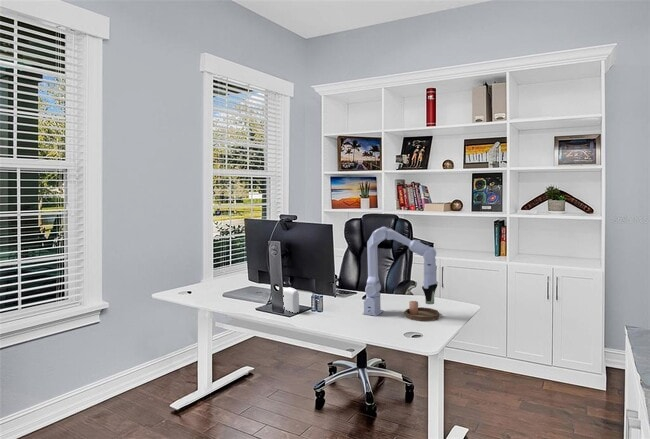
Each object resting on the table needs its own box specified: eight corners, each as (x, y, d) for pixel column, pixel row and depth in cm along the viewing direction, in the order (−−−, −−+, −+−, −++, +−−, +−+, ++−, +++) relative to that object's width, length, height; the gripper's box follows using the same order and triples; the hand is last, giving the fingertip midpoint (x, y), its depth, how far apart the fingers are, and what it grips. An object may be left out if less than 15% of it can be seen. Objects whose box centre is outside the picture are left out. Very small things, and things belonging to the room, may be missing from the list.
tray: (434, 322, 216) (434, 318, 216) (400, 318, 224) (400, 314, 224) (442, 313, 230) (442, 309, 230) (410, 309, 238) (410, 306, 238)
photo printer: (282, 309, 243) (281, 286, 242) (289, 308, 246) (288, 285, 245) (293, 314, 235) (293, 290, 234) (300, 312, 238) (299, 288, 237)
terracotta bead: (416, 315, 226) (416, 303, 226) (408, 314, 228) (408, 302, 228) (419, 313, 230) (419, 301, 229) (411, 312, 232) (411, 300, 231)
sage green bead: (432, 304, 222) (432, 292, 221) (424, 303, 224) (424, 291, 223) (435, 302, 225) (435, 290, 225) (427, 301, 227) (426, 289, 227)
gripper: (434, 276, 215) (434, 304, 216) (441, 270, 228) (441, 297, 229) (419, 274, 218) (419, 302, 220) (427, 269, 231) (427, 295, 232)
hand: (429, 299), depth 224 cm, fingers closed on sage green bead, 4 cm apart
